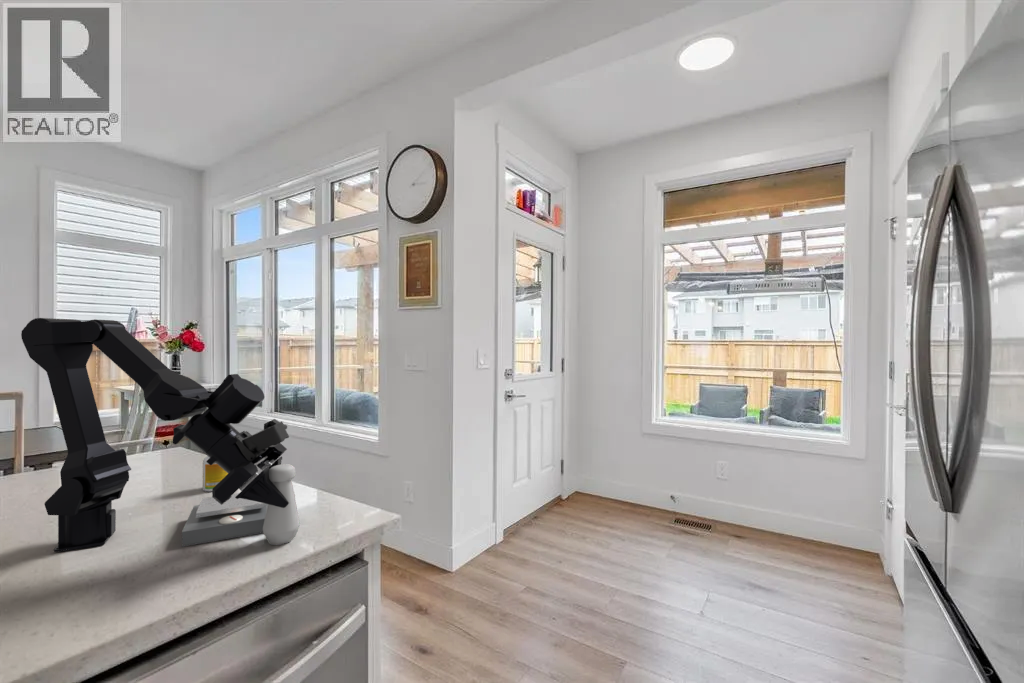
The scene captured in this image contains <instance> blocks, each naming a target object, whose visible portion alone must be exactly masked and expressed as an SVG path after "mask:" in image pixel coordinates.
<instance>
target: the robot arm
mask: <svg viewBox="0 0 1024 683" xmlns="http://www.w3.org/2000/svg"><path fill="white" fill-rule="evenodd" d="M20 334H21V340H22V343H23V345H24V347H25V349H26V350H25V351H27V355H28V356H29V358H30V359H31V360H32V361H33V362H34V363H36V364H37V365H38V366H39V367H40V368H41V369H43V370H44V371H45V372H46V375H47V378H48V381H49V386H50V388H51V393H52V396H53V400H54V403H55V407H56V412H57V415H58V419H59V423H60V427H61V430H62V434H63V438H64V442H65V445H66V449H67V455H66V457H65V460H64V461H63V464H62V467H61V468H60V472H59V473H60V475H59V476H60V482H61V483H60V484H61V486H60V487H58V489H57V490H55V492H54V493H52V494H51V496H50V497H49V498H47V500H46V501H45V502H44V508H45V510H46V513H47V515H48V516H57V519H58V520H57V531H58V532H57V533H58V534H57V538H58V540H57V543H58V544H57V545H56V546H55V548H53V553H59V552H60V553H61V552H66V551H67V552H68V551H72V550H78V549H83V548H84V549H85V548H90V547H92V548H93V547H98V546H102V545H105V544H106V543H107V542H108V541H109V539H110V538H111V537H112V536H113V535H114V533H115V532H116V529H117V528H116V524H117V522H116V520H117V519H116V518H117V517H116V516H117V515H116V512H117V511H116V509H115V508H112V505H113V502H112V501H114V500H119V499H120V498H121V496H122V495H123V494H122V493H123V491H124V488H125V486H126V485H127V483H128V482H129V480H130V474H129V473H130V472H129V471H132V468H131V466H130V465H129V463H128V459H127V452H126V451H125V449H124V448H120V449H114V448H113V447H112V446H110V445H109V444H108V443H107V440H106V436H105V432H104V428H103V426H102V421H101V418H100V414H99V410H98V409H99V408H98V407H97V406H98V405H97V402H96V399H95V396H94V395H95V394H94V390H93V386H92V383H91V380H90V376H89V372H88V369H87V364H88V361H89V359H91V358H90V357H91V355H92V353H93V350H94V348H93V346H95V347H96V348H97V349H98V350H99V351H101V352H102V354H104V355H105V356H106V357H107V358H108V359H109V360H111V362H113V364H115V365H116V366H117V367H118V368H120V370H121V371H122V372H123V373H125V374H126V375H127V376H128V377H129V378H130V379H131V380H132V381H133V382H135V383H136V384H137V385H138V386H139V387H140V388H141V390H142V391H143V398H144V402H145V403H146V405H147V406H148V408H150V409H151V411H152V412H153V414H154V415H155V416H156V417H157V418H158V419H160V420H161V421H165V422H167V421H168V422H170V421H177V420H182V419H186V418H190V419H189V420H187V422H186V423H185V424H182V423H181V424H179V425H177V426H176V427H173V429H172V430H173V435H172V436H173V437H172V444H173V445H178V444H180V443H182V442H184V441H185V440H187V439H188V440H189V441H190V442H191V443H193V445H195V446H196V447H197V448H198V449H199V450H200V451H202V452H203V453H204V454H205V455H206V457H207V456H209V457H210V458H209V459H208V460H207V461H206V462H207V463H208V464H210V465H213V464H215V463H217V464H218V465H219V466H220V467H221V468H222V469H223V470H225V471H226V472H227V473H228V474H227V475H226V476H225V477H224V478H223V479H222V480H221V481H220V482H219V483H218V484H217V485H216V486H215V487H214V488H213V489H212V491H211V492H212V494H211V495H212V496H211V497H213V498H214V499H215V500H216V501H217V502H219V503H220V504H221V505H222V504H224V503H225V502H226V501H227V500H229V499H230V498H231V497H232V496H231V495H233V494H236V493H237V491H238V490H239V491H240V492H238V493H239V494H238V495H237V496H236V497H235V498H236V499H239V498H242V499H247V500H252V501H257V502H261V503H265V504H269V505H273V506H277V507H281V508H285V507H286V506H287V505H288V504H289V502H288V501H287V499H286V498H285V497H284V496H283V494H282V493H281V492H280V491H279V490H278V489H277V487H276V486H275V485H274V484H273V483H272V482H271V481H270V479H269V469H270V468H271V467H273V466H276V465H281V464H282V461H283V456H282V455H283V454H284V453H286V451H287V450H288V449H287V448H286V447H285V446H284V445H283V444H282V443H283V442H285V440H286V439H289V438H290V436H289V434H288V432H287V429H288V425H287V424H284V422H283V421H278V419H276V418H273V419H271V420H269V421H267V422H265V423H263V430H261V431H259V432H256V433H253V434H251V433H250V432H249V431H247V430H246V431H245V430H243V431H241V432H240V431H238V429H236V428H235V427H234V426H233V425H237V424H238V425H239V424H240V423H241V422H244V420H245V419H246V418H247V417H248V416H249V415H250V414H252V412H253V411H254V409H256V408H257V407H258V406H259V405H260V404H261V402H263V401H264V399H265V394H264V391H263V390H262V388H261V387H260V386H259V385H258V384H254V383H253V382H252V381H250V380H248V379H246V378H243V377H241V376H240V375H239V374H238V373H234V374H233V373H232V374H228V375H227V376H226V377H225V378H224V379H223V380H222V382H221V384H220V385H218V386H217V387H216V389H215V390H214V391H213V390H207V389H206V387H205V386H203V385H201V384H200V383H198V382H197V381H195V380H194V379H192V378H190V377H189V376H185V375H184V374H180V373H178V372H175V371H173V370H172V369H170V368H169V367H168V366H166V365H165V363H163V362H162V361H161V360H160V359H159V358H158V357H156V356H155V355H154V354H153V353H152V352H151V351H150V350H149V349H148V348H147V347H145V345H143V344H142V343H141V342H140V341H139V340H138V339H137V338H136V337H134V336H133V335H132V334H131V333H130V332H129V331H128V330H127V329H126V326H125V325H124V323H121V322H119V321H118V320H113V319H96V318H95V319H90V320H81V319H75V318H74V319H70V318H69V319H68V318H52V317H50V318H48V317H37V318H33V319H31V320H30V321H28V323H27V324H26V326H24V327H23V329H22V330H21V333H20ZM232 424H233V425H232Z"/></svg>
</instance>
